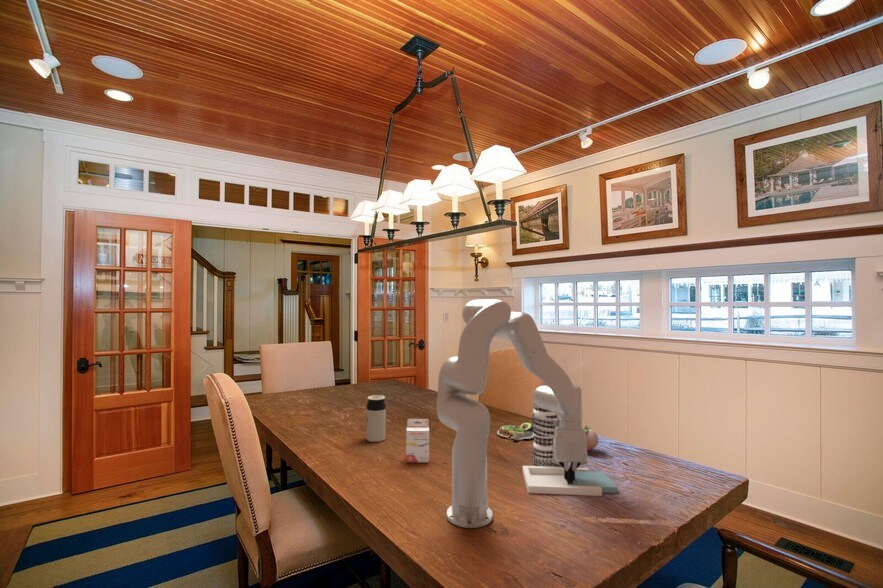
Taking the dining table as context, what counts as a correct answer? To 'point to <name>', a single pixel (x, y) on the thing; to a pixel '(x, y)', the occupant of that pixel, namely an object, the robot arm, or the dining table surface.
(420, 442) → the ink cartridge box
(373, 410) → the travel mug
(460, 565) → the dining table surface
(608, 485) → the cover plate
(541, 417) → the decorative candle
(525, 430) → the plate of avocado toast
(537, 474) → the white flat tray
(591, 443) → the decorative fruit
